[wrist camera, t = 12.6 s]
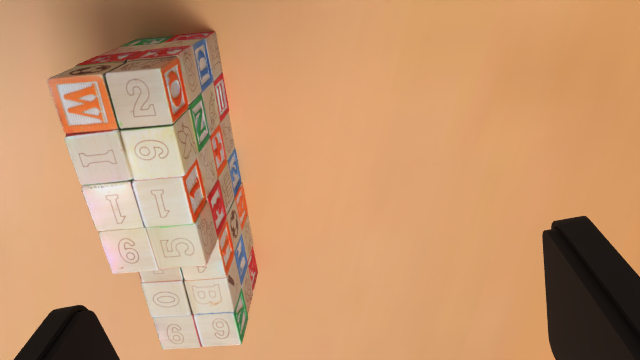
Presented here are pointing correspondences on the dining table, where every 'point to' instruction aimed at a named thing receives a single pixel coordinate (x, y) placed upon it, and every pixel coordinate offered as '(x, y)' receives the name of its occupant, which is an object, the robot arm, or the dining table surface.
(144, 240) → the stack of blocks
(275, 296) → the dining table surface
